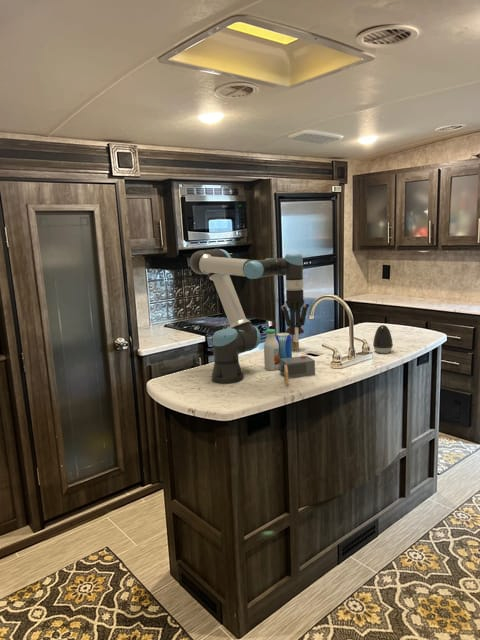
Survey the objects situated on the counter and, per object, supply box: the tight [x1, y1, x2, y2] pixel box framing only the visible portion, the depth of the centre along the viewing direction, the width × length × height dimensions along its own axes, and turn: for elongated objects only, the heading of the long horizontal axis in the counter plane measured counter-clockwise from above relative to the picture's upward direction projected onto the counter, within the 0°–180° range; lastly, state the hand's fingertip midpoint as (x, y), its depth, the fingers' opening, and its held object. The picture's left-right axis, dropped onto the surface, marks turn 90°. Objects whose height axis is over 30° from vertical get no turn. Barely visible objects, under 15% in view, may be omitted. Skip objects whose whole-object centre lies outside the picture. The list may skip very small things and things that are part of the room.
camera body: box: [278, 355, 316, 379], centre depth 225 cm, size 15×10×8 cm, turn 104°
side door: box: [283, 364, 289, 386], centre depth 212 cm, size 12×2×6 cm, turn 178°
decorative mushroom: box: [284, 324, 305, 352], centre depth 268 cm, size 11×11×15 cm
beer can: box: [275, 332, 293, 359], centre depth 242 cm, size 8×8×16 cm
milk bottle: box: [263, 328, 280, 371], centre depth 235 cm, size 8×8×20 cm
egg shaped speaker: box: [372, 324, 394, 354], centre depth 254 cm, size 10×10×15 cm
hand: (295, 341), depth 209 cm, fingers closed
